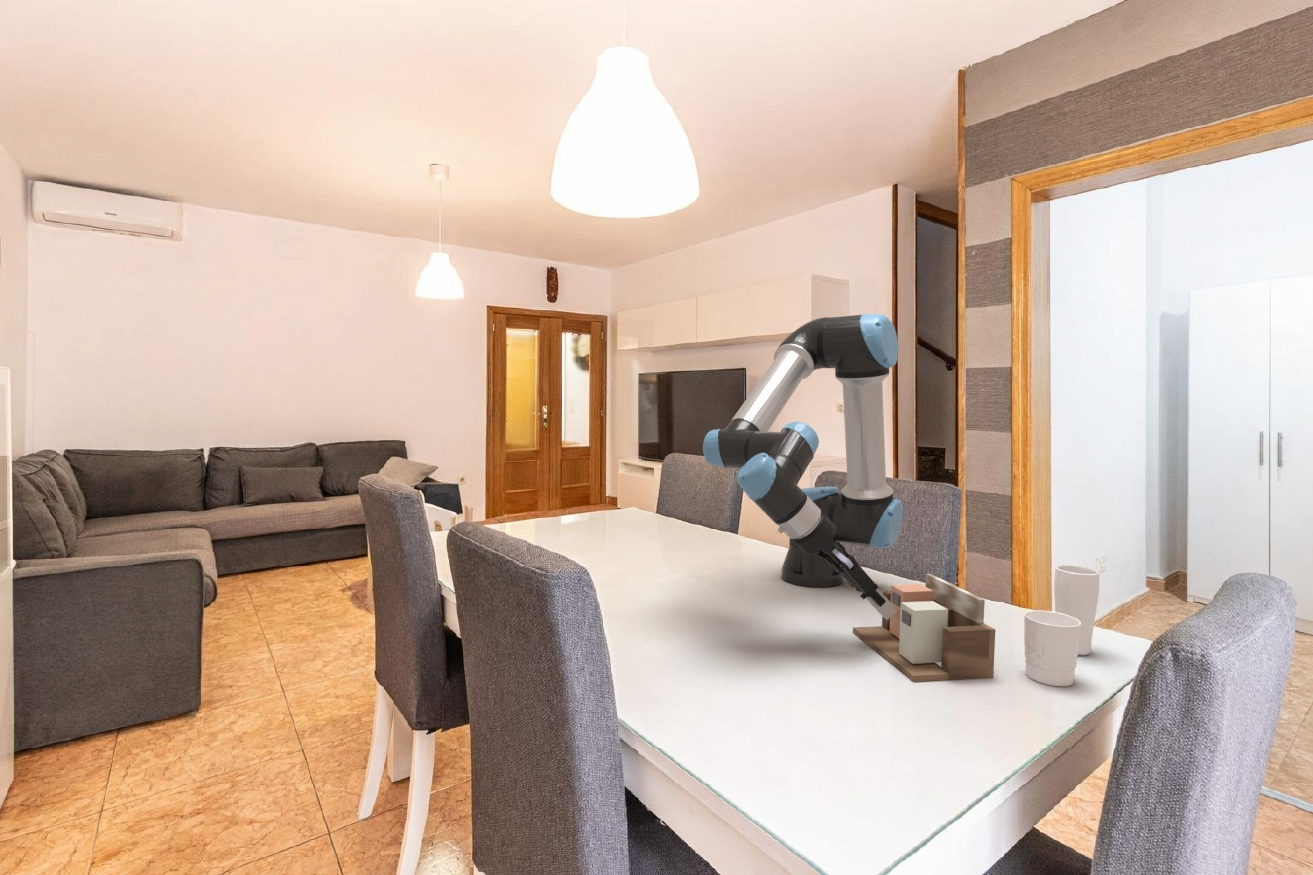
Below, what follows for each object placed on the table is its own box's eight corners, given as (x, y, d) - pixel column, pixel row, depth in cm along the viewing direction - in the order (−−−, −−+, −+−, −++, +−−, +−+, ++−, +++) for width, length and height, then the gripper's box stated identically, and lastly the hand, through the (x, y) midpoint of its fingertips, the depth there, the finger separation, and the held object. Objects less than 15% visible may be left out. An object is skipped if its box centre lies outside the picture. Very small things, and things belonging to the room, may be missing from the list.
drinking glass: (1056, 640, 122) (1060, 562, 121) (1099, 651, 117) (1103, 569, 116) (1046, 650, 117) (1050, 569, 116) (1090, 661, 112) (1094, 576, 111)
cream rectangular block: (897, 653, 112) (899, 602, 111) (931, 651, 113) (933, 601, 112) (911, 663, 107) (912, 610, 107) (946, 661, 108) (948, 609, 108)
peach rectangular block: (888, 631, 122) (889, 585, 122) (919, 630, 123) (920, 584, 122) (900, 640, 118) (901, 592, 117) (932, 639, 119) (933, 590, 118)
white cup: (1086, 690, 101) (1090, 628, 100) (1031, 685, 102) (1034, 624, 102) (1065, 670, 109) (1068, 612, 108) (1014, 665, 110) (1017, 608, 110)
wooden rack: (852, 632, 125) (854, 571, 124) (920, 629, 127) (922, 569, 126) (913, 681, 103) (916, 608, 103) (993, 677, 105) (996, 605, 105)
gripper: (780, 533, 122) (860, 616, 125) (805, 549, 109) (894, 641, 113) (807, 504, 123) (887, 588, 126) (835, 517, 110) (923, 610, 113)
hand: (890, 613), depth 119 cm, fingers closed
